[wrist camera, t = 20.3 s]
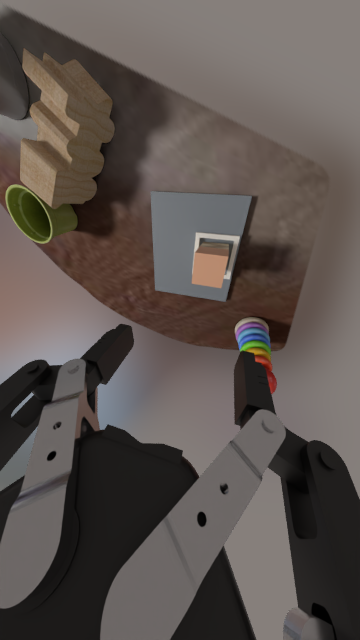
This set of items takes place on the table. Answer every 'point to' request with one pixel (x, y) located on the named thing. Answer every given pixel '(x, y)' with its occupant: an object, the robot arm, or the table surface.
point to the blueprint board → (194, 237)
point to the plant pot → (38, 215)
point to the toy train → (65, 132)
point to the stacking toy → (256, 343)
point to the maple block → (215, 245)
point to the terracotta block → (209, 266)
